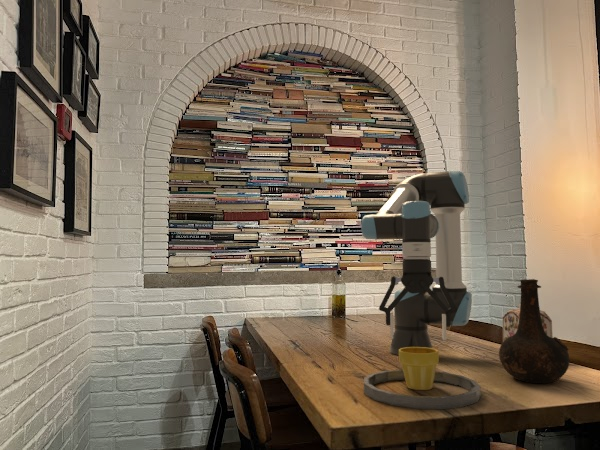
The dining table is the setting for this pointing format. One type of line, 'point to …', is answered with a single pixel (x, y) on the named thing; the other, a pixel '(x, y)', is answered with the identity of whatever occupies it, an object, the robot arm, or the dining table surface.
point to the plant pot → (419, 366)
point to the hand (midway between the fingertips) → (417, 338)
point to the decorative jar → (513, 320)
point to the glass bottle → (533, 344)
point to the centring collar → (422, 401)
